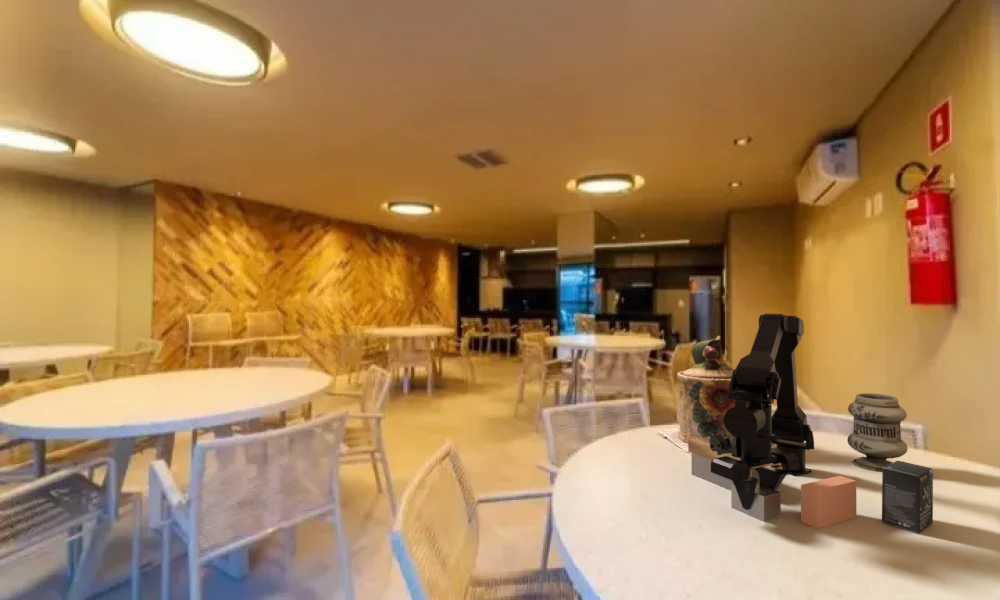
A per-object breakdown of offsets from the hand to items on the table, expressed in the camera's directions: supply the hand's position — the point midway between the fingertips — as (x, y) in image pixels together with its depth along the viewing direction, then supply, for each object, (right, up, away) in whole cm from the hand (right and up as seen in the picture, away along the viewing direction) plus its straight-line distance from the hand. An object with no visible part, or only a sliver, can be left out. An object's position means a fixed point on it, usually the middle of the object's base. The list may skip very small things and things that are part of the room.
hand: (755, 506), depth 94 cm
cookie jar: (+12, -2, +47) cm, 49 cm away
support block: (0, -1, 0) cm, 1 cm away
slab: (+3, +4, +17) cm, 18 cm away
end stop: (+12, -1, -3) cm, 13 cm away
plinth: (+3, -1, +17) cm, 17 cm away
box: (+26, -1, -5) cm, 27 cm away
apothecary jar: (+46, -2, +27) cm, 53 cm away
